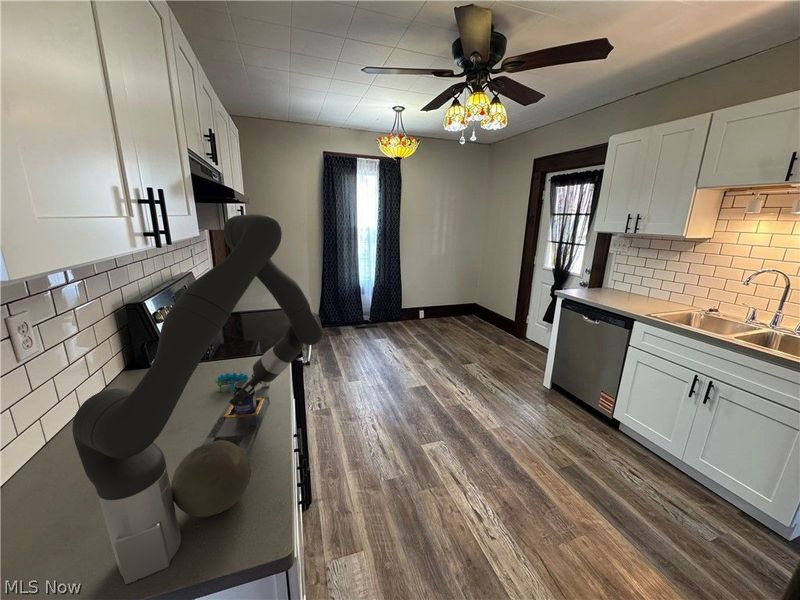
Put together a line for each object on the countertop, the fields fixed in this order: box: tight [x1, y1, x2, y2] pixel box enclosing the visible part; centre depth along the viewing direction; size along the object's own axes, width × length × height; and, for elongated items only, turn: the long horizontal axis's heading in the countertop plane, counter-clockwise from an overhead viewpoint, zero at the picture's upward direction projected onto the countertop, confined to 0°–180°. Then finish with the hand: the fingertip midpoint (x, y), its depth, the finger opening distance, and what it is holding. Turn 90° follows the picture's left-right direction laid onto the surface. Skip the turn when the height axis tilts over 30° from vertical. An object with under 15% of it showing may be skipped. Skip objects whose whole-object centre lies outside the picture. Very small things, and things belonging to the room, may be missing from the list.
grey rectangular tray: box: [201, 396, 271, 457], centre depth 92 cm, size 28×12×3 cm, turn 9°
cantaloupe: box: [170, 440, 252, 518], centre depth 67 cm, size 14×14×15 cm
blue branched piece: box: [215, 372, 250, 393], centre depth 114 cm, size 11×6×10 cm
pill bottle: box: [232, 380, 257, 415], centre depth 99 cm, size 6×6×11 cm
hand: (239, 395), depth 99 cm, fingers open, 8 cm apart
